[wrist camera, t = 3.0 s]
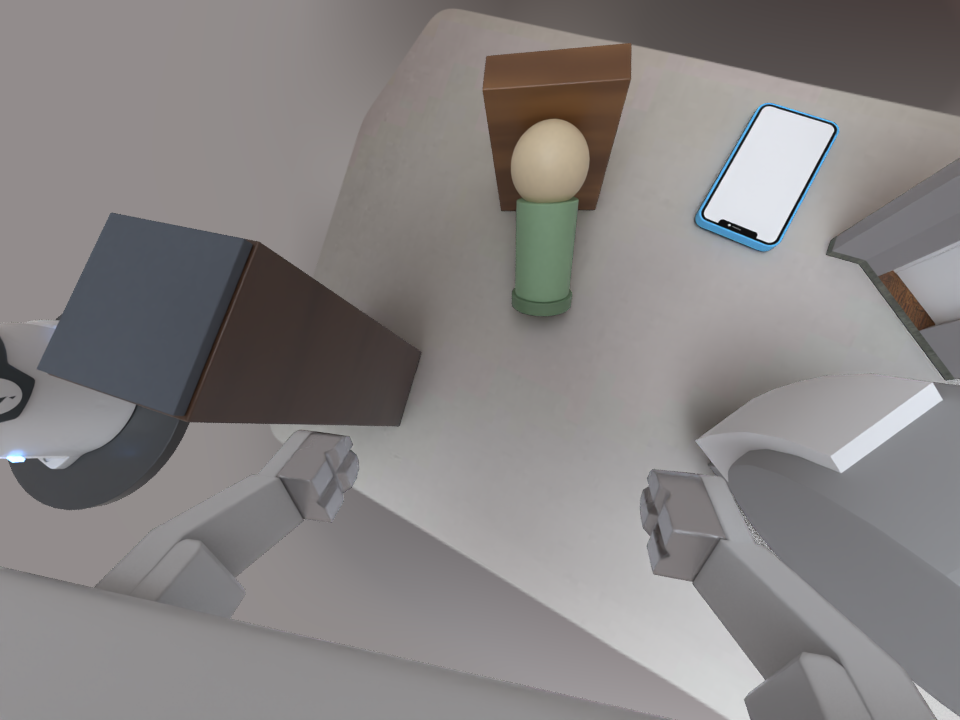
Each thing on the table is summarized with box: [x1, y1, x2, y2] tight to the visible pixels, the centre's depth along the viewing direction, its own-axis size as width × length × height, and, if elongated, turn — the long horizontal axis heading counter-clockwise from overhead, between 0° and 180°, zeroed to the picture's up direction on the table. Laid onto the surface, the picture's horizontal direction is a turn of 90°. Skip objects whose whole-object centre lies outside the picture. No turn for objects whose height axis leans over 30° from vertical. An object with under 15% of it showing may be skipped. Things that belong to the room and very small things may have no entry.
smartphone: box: [695, 103, 839, 251], centre depth 34 cm, size 8×1×15 cm
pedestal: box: [48, 239, 421, 426], centre depth 26 cm, size 8×8×22 cm
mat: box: [37, 213, 253, 416], centre depth 15 cm, size 8×8×1 cm
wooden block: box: [483, 43, 631, 211], centre depth 31 cm, size 3×10×14 cm, turn 85°
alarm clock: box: [695, 373, 960, 717], centre depth 19 cm, size 18×8×20 cm, turn 36°
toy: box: [511, 119, 590, 316], centre depth 30 cm, size 13×6×13 cm, turn 175°
